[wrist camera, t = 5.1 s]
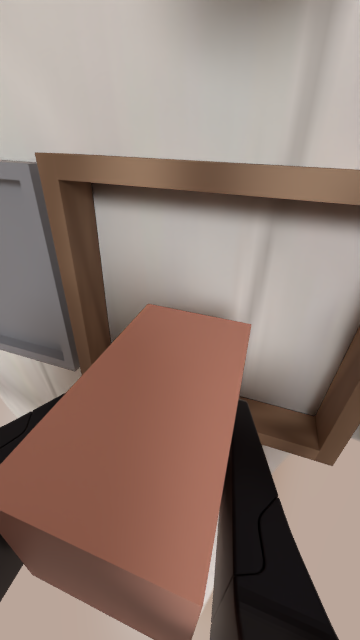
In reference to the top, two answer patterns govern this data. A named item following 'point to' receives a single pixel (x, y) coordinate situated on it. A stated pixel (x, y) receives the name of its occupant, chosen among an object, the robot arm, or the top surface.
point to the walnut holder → (203, 176)
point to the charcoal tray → (31, 273)
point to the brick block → (132, 472)
